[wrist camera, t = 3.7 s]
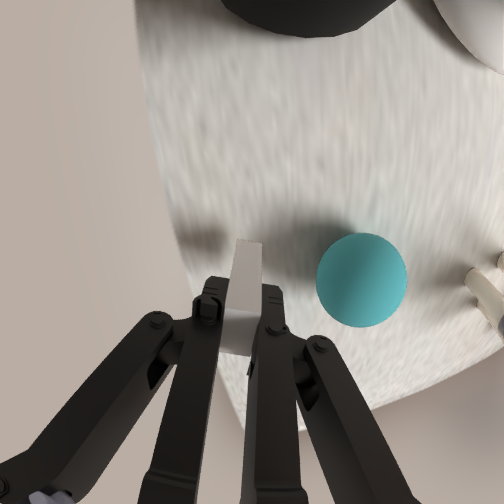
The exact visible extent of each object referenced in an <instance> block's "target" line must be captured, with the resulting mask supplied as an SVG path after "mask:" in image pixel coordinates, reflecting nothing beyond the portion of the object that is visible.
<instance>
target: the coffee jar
mask: <svg viewBox="0 0 504 504" xmlns="http://www.w3.org/2000/svg"><path fill="white" fill-rule="evenodd" d="M395 1H396V0H221V2H222V3H223V4H224V5H225V7H226V8H227V9H228V10H230V11H231V12H233V13H235V14H236V15H238V16H239V17H241V18H242V19H244V20H245V21H246V22H248V23H250V24H253V25H256V26H258V27H261V28H264V29H267V30H269V31H272V32H274V33H278V34H285V35H292V36H297V37H303V38H314V37H335V36H338V35H341V34H344V33H348V32H351V31H355V30H357V29H359V28H360V27H361V26H363V25H364V24H366V23H367V22H368V21H370V20H371V19H372V18H374V17H375V16H376V15H378V14H379V13H380V12H381V11H383V10H384V9H385V8H387V7H388V6H389V5H391V4H392V3H393V2H395Z"/></svg>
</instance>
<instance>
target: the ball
mask: <svg viewBox="0 0 504 504" xmlns="http://www.w3.org/2000/svg"><path fill="white" fill-rule="evenodd" d="M406 286H407V273H406V267H405V264H404V261H403V259H402V257H401V255H400V254H399V252H398V251H397V249H396V248H395V247H394V246H393V245H392V244H391V243H390V242H388V241H387V240H385V239H384V238H382V237H379V236H377V235H374V234H369V233H356V234H351V235H348V236H345V237H343V238H341V239H339V240H338V241H336V242H335V243H333V244H332V245H331V246H330V247H329V248H328V250H327V251H326V252H325V254H324V255H323V257H322V258H321V260H320V263H319V266H318V269H317V273H316V288H317V293H318V297H319V299H320V302H321V304H322V305H323V307H324V309H325V310H326V311H327V312H328V314H329V315H330V316H332V317H333V318H334V319H335V320H337V321H339V322H340V323H342V324H345V325H348V326H351V327H370V326H374V325H376V324H379V323H381V322H383V321H384V320H386V319H387V318H389V317H390V316H391V315H392V314H393V313H394V312H395V311H396V310H397V308H398V307H399V305H400V303H401V302H402V300H403V297H404V294H405V291H406Z"/></svg>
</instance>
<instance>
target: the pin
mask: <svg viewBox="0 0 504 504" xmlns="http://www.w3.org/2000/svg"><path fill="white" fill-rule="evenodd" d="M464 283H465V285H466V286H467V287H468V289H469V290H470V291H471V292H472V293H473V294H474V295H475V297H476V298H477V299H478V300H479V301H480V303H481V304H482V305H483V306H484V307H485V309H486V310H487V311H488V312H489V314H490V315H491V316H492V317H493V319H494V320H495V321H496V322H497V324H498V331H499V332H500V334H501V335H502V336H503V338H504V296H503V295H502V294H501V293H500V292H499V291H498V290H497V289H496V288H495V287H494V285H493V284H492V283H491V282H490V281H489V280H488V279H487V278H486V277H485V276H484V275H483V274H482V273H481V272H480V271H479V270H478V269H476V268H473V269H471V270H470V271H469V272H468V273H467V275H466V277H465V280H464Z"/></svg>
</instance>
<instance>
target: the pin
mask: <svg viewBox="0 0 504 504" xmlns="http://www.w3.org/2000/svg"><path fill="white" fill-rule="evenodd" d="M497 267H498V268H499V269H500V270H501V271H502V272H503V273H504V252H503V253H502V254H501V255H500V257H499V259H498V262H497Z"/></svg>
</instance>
